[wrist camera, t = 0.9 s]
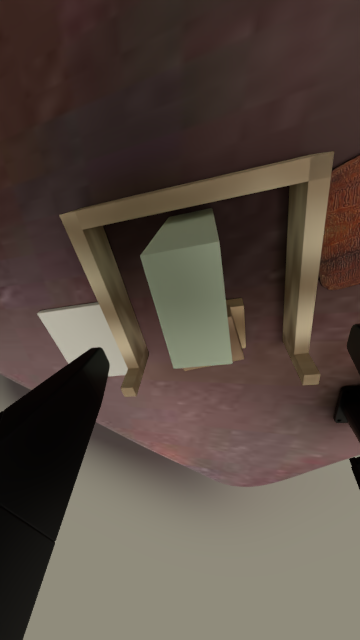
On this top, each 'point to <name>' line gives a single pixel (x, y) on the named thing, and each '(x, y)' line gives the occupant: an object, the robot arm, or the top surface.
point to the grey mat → (83, 333)
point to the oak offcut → (238, 318)
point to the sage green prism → (189, 289)
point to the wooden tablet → (342, 229)
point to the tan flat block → (234, 340)
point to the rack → (303, 214)
